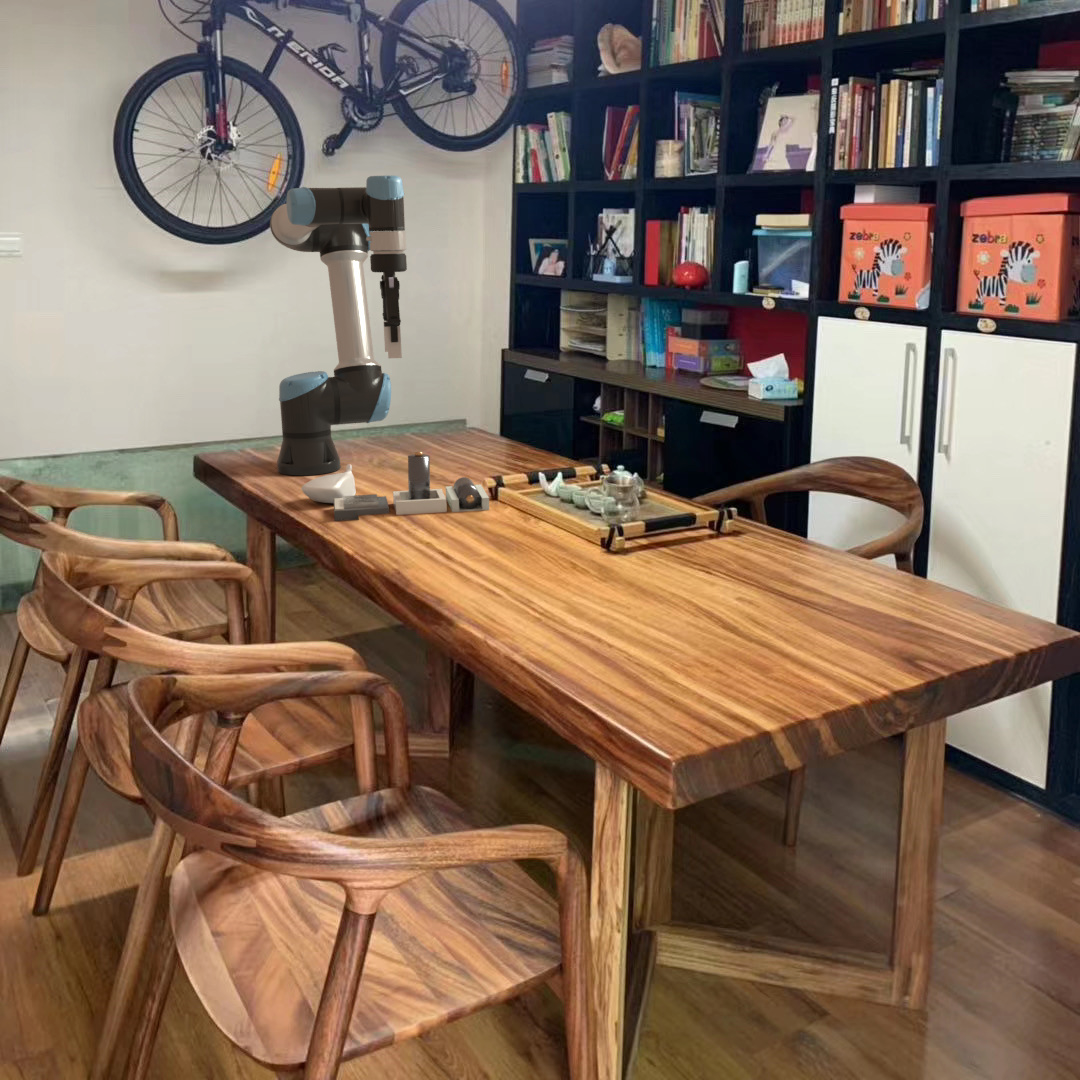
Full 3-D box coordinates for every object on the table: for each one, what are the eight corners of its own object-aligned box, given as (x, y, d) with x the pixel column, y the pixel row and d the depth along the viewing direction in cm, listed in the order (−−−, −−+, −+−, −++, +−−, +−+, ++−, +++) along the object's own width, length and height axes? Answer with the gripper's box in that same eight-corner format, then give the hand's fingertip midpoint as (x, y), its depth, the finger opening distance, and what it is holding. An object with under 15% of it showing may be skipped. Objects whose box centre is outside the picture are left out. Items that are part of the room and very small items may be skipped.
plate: (343, 500, 251) (343, 496, 251) (376, 498, 252) (376, 494, 252) (343, 508, 245) (343, 503, 244) (378, 506, 246) (378, 501, 246)
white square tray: (393, 507, 253) (393, 491, 252) (442, 504, 255) (441, 488, 254) (396, 518, 243) (395, 502, 243) (446, 515, 245) (446, 499, 244)
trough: (446, 502, 257) (445, 486, 256) (481, 499, 259) (480, 484, 258) (452, 516, 245) (451, 499, 244) (489, 513, 246) (489, 497, 245)
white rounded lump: (368, 460, 262) (324, 447, 253) (366, 508, 259) (321, 495, 251) (338, 470, 269) (294, 457, 260) (336, 516, 266) (291, 504, 257)
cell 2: (453, 498, 256) (453, 477, 255) (474, 496, 257) (473, 476, 256) (460, 510, 245) (459, 489, 244) (481, 509, 246) (480, 488, 245)
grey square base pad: (334, 508, 253) (333, 497, 253) (386, 505, 255) (385, 494, 255) (334, 520, 243) (333, 509, 242) (389, 517, 245) (388, 506, 244)
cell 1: (408, 506, 251) (407, 450, 248) (429, 505, 251) (429, 450, 249) (408, 510, 247) (408, 454, 244) (430, 510, 247) (429, 454, 244)
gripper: (367, 251, 263) (373, 349, 268) (372, 254, 239) (378, 361, 244) (402, 250, 264) (406, 348, 269) (410, 253, 240) (415, 360, 246)
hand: (393, 354), depth 257 cm, fingers open, 13 cm apart
